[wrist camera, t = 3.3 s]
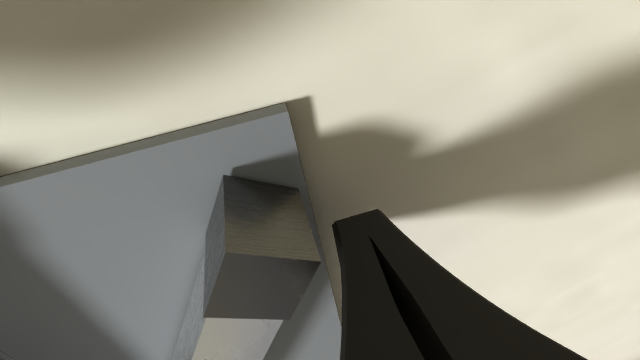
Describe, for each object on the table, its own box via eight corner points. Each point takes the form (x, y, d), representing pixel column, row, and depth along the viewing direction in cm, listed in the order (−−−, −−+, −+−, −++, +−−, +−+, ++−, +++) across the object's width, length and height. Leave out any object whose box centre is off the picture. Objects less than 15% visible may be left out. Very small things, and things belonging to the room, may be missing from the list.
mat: (354, 381, 19) (357, 391, 18) (112, 462, 18) (110, 474, 17) (284, 102, 9) (288, 111, 8) (-272, 248, 8) (-298, 265, 7)
